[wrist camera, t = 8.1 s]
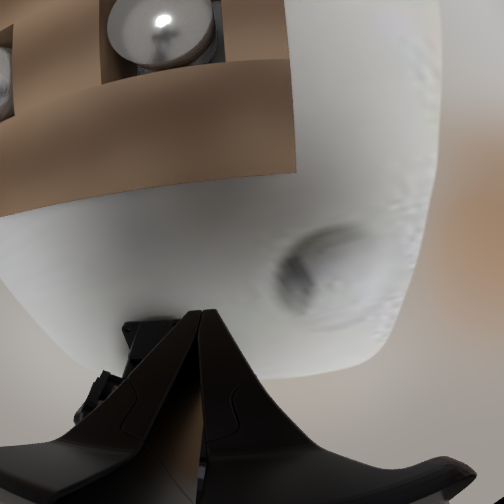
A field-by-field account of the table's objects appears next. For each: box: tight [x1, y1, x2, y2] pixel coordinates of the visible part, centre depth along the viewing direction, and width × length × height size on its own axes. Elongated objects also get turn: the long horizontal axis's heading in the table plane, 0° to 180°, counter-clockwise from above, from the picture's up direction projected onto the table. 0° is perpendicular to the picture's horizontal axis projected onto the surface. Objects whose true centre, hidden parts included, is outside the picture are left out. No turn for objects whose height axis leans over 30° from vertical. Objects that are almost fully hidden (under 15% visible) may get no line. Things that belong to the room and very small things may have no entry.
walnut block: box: [0, 0, 296, 217], centre depth 12 cm, size 16×22×6 cm
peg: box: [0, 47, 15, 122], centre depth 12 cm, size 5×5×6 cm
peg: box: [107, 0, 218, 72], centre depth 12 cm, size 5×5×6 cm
